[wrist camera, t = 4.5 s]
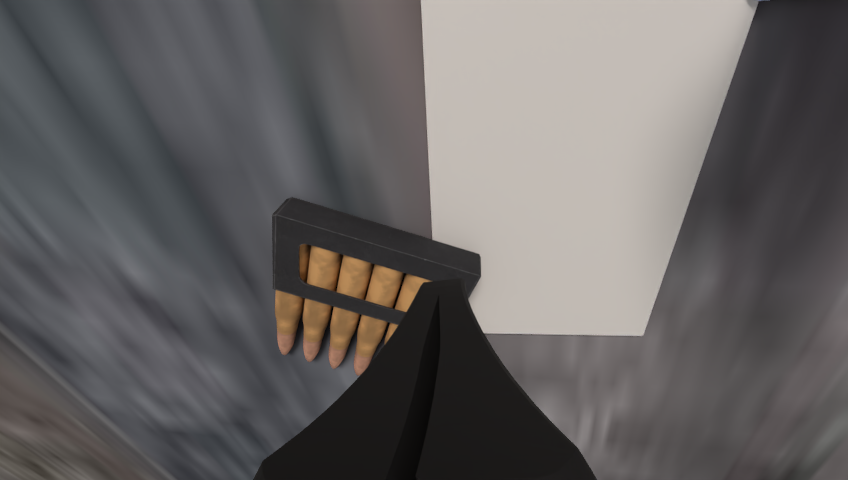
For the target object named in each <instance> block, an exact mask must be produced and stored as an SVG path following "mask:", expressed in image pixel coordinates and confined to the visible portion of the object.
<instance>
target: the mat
mask: <svg viewBox="0 0 848 480" xmlns="http://www.w3.org/2000/svg"><path fill="white" fill-rule="evenodd" d="M758 2H759V1H756V0H421V11H422V32H423V53H424V74H425V94H426V115H427V136H428V157H429V178H430V198H431V219H432V240H435V241H438V242H441V243H445V244H448V245H451V246H455V247H458V248H461V249H465V250H468V251H471V252H474V253H478V254H480V257H481V278H480V279H479V281H478V283H477V285H476V286H475V288H474V290H473V292H472V293H471V295H470V297H469V299H468V300H469V303H470V306H471V308H472V310H473V313H474V315H475V317H476V319H477V321H478V323H479V325H480V327H481V329H482V331H483V333H496V334H556V335H616V336H643V334H644V332H645V329H646V326H647V323H648V320H649V317H650V314H651V311H652V308H653V306H654V303H655V300H656V297H657V294H658V291H659V288H660V285H661V282H662V280H663V277H664V274H665V271H666V268H667V265H668V262H669V259H670V256H671V254H672V251H673V248H674V245H675V242H676V239H677V236H678V233H679V230H680V228H681V225H682V222H683V219H684V216H685V213H686V210H687V207H688V204H689V202H690V199H691V196H692V193H693V190H694V187H695V184H696V181H697V178H698V176H699V173H700V170H701V167H702V164H703V161H704V158H705V155H706V152H707V150H708V147H709V144H710V141H711V138H712V135H713V132H714V129H715V126H716V124H717V121H718V118H719V115H720V112H721V109H722V106H723V103H724V100H725V98H726V95H727V92H728V89H729V86H730V83H731V80H732V77H733V74H734V72H735V69H736V66H737V63H738V60H739V57H740V54H741V51H742V48H743V46H744V43H745V40H746V37H747V34H748V31H749V28H750V25H751V22H752V20H753V17H754V14H755V11H756V8H757V5H758Z"/></svg>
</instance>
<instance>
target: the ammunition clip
mask: <svg viewBox="0 0 848 480" xmlns="http://www.w3.org/2000/svg"><path fill="white" fill-rule="evenodd" d="M272 241H273V289H274V290H276V298H275V315H276V319H277V339H278V346H279V349H280V351H281V353H282V354H283V355H286V354H288V352H289V351H290V350H291V348H292V346H293V344H294V340H295V337H296V332H297V328H298V323H299V320H300V317H301V315H302V311H303V305H304V311H303V324H304V339H303V349H304V355H305V358H306V360H307V361H308V362H311V361H312V360H313V359H314V358H315V357H316V355H317V353H318V351H319V349H320V346H321V343H322V338H323V336H324V332H325V329H326V327H327V325H328V323H329V319H330V314H331V309H332V306H333V307H334V308H333V313H332V318H331V324H330V332H331V337H330V347H329V361H330V365H331V367H332V368H333V369H335V368H337V367H338V366H339V365H340V363H341V362H342V360H343V359H344V357H345V354H346V352H347V349H348V346H349V343H350V340H351V337H352V336H353V334H354V332H355V331H356V328H357V324H358V320H359V316H360V314H361V319H360V323H359V327H358V333H357V346H356V352H355V358H354V368H355V373H356V374H357V375H361V374H362V373H363V372H364V371H365V370H366V368H367V367H368V366H369V364H370V362H371V360H372V357H373V354H374V353H375V350H376V348H377V346H378V344H379V343H380V341H381V339H382V337H383V335H384V332H385V329H386V326H387V323H388V322H389V323H390V324H389V328H388V331H387V334H386V337H385V344H386V342H387V341H388V340H389V338H390V337H391V335H392V334H393V332H394V331H395V329H396V328H397V326H398V325H399V323H400V321H401V320H402V318H403V317H404V315H405V313H406V312H407V310H408V308H409V307H410V305H411V303H412V301H413V299H414V298H415V296H416V294H417V292H418V290H419V288H420V286H421V285H422V284H423V282H432V281H440V280H448V279H457V278H461V279H463V280H464V281H465V285H466V290H467V296H468V299H469V297H470V295H471V293H472V292H473V290H474V288H475V286H476V285H477V283H478V281H479V279H480V278H481V257H480V254H478V253H474V252H471V251H468V250H465V249H461V248H458V247H455V246H451V245H448V244H445V243H441V242H438V241H435V240H432V239H428V238H425V237H422V236H418V235H415V234H412V233H409V232H405V231H402V230H399V229H395V228H392V227H389V226H385V225H382V224H379V223H376V222H372V221H369V220H366V219H362V218H359V217H356V216H353V215H349V214H346V213H343V212H339V211H336V210H333V209H330V208H326V207H323V206H320V205H316V204H313V203H310V202H306V201H303V200H300V199H297V198H293V197H291V198H289V199H286V201H285V202H284V203H283V204H282V205H281V206H280V207H279V208H278V209H277V210H276V211H275V212H274V213H273V214H272ZM342 255H343V259H342ZM341 259H342V265H341V270H339V269H340V264H341ZM373 264H374V268H373ZM372 268H373V272H372ZM371 272H372V276H371V280H370V275H371ZM404 273H406V275H405V279H404V282H403V285H402V288H400V285H401V282H402V279H403V276H404ZM336 285H338V286H337V292H335V289H336ZM365 294H367V296H366V300H364V298H365ZM304 298H305V302H304ZM394 302H397V303H396V306H395V309H393V305H394Z"/></svg>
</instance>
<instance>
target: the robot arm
mask: <svg viewBox="0 0 848 480" xmlns="http://www.w3.org/2000/svg"><path fill="white" fill-rule="evenodd" d="M756 1H768V0H756ZM253 480H597V479H596V477H595V476H594V474H593V472H592V470H591V469H590V467H589V465H588V464H587V462H586V460H585V459H584V457H583V456H582V454H581V452H580V451H579V449H578V448H577V447H576V446H575V445H574V444H573V443H572V442H571V441H570V440H569V439H568V438H567V437H566V436H565V435H564V434H563V433H562V432H561V431H560V430H559V429H558V428H557V427H556V426H555V425H554V424H553V423H552V422H551V421H550V420H549V419H548V418H547V417H546V416H545V415H544V413H543V412H542V411H541V410H540V409H539V408H538V407H537V406H536V405H535V404H534V402H533V401H532V400H531V399H530V398H529V396H528V395H527V394H526V393H525V392H524V390H523V389H522V388H521V387H520V386H519V384H518V383H517V382H516V381H515V380H514V378H513V377H512V376H511V374H510V373H509V371H508V370H507V369H506V367H505V366H504V365H503V363H502V362H501V360H500V359H499V357H498V356H497V354H496V353H495V351H494V350H493V348H492V346H491V345H490V343H489V341H488V340H487V338H486V336H485V334H484V333H483V331H482V329H481V327H480V325H479V323H478V321H477V319H476V317H475V315H474V313H473V310H472V308H471V306H470V303H469V300H468V296H467V290H466V285H465V281H464V280H463V279H461V278H457V279H448V280H440V281H432V282H423V284H422V285H421V286H420V288H419V290H418V292H417V294H416V296H415V298H414V299H413V301H412V303H411V305H410V307H409V308H408V310H407V312H406V313H405V315H404V317H403V318H402V320H401V321H400V323H399V325H398V326H397V328H396V329H395V331H394V332H393V334H392V335H391V337H390V338H389V340H388V341H387V342H386V344H385V345H384V347H383V348H382V349H381V351H380V352H379V353H378V355H377V356H376V357H375V359H374V360H373V361H372V362H371V364H370V365H369V366H368V367H367V368H366V370H365V371H364V372H363V373H362V374H361V375H360V377H359V378H358V379H357V380H356V381H355V382H354V383H353V384H352V385H351V386H350V387H349V388H348V389H347V390H346V391H345V392H344V393H343V394H342V395H341V397H340V398H339V399H338V400H337V401H336V402H334V403H333V404H332V405H331V406H330V407H329V408H328V409H327V410H326V411H325V412H324V413H322V414H321V415H320V416H319V417H318V418H317V419H316V420H314V421H313V422H312V423H311V424H310V425H309V426H307V427H306V428H305V429H304V430H303V431H301V432H300V433H299V434H298V435H296V436H295V437H294V438H292V439H291V440H290V441H288V442H287V443H286V444H285V445H283V446H282V447H281V448H279V449H278V450H277V451H275V452H274V453H273V454H272V455H270V456H269V457H267V458H266V459H265V460H263V462H262V464H261V466H260V468H259V469H258V471H257V473H256V475H255V477H254V479H253Z"/></svg>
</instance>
